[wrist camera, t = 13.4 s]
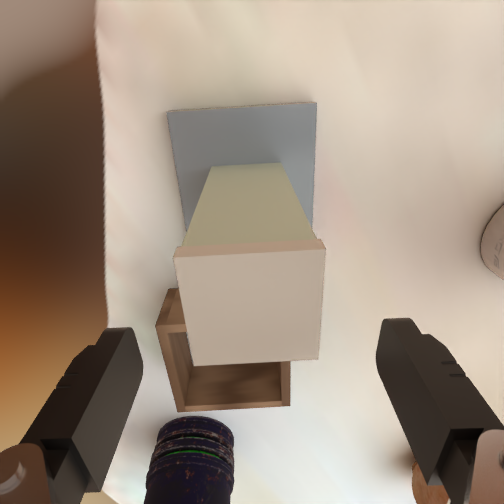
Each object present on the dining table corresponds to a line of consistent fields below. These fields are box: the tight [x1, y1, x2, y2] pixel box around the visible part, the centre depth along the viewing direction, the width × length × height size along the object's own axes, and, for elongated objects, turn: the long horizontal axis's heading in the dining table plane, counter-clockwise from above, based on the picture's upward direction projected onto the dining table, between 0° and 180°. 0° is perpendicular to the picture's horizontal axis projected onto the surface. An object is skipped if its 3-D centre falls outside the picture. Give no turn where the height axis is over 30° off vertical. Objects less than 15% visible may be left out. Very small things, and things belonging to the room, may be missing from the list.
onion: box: [412, 461, 449, 504], centre depth 40 cm, size 10×9×10 cm
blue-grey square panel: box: [167, 102, 317, 231], centre depth 24 cm, size 10×12×1 cm
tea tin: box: [173, 163, 326, 366], centre depth 18 cm, size 5×5×14 cm
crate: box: [155, 288, 290, 412], centre depth 29 cm, size 11×11×5 cm
